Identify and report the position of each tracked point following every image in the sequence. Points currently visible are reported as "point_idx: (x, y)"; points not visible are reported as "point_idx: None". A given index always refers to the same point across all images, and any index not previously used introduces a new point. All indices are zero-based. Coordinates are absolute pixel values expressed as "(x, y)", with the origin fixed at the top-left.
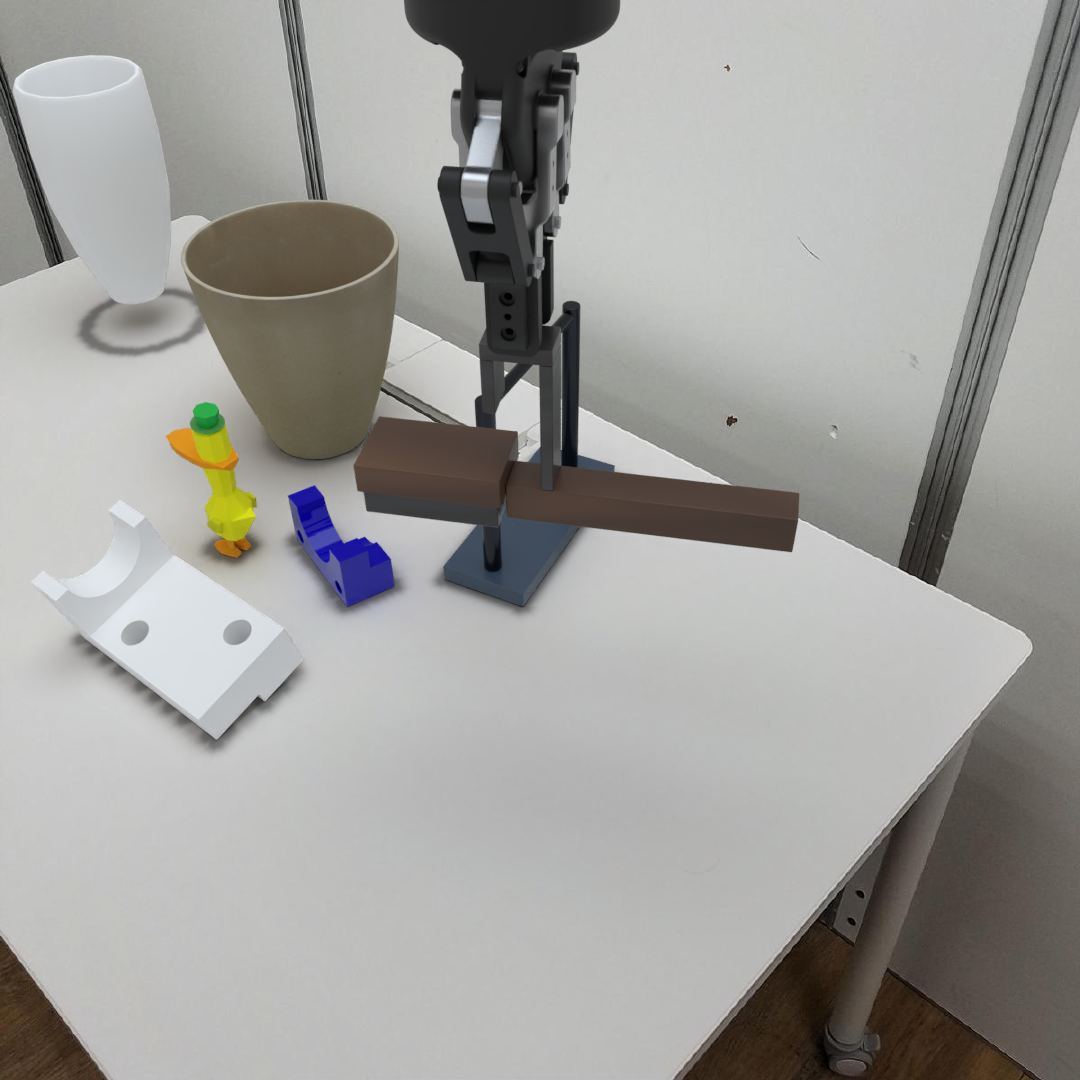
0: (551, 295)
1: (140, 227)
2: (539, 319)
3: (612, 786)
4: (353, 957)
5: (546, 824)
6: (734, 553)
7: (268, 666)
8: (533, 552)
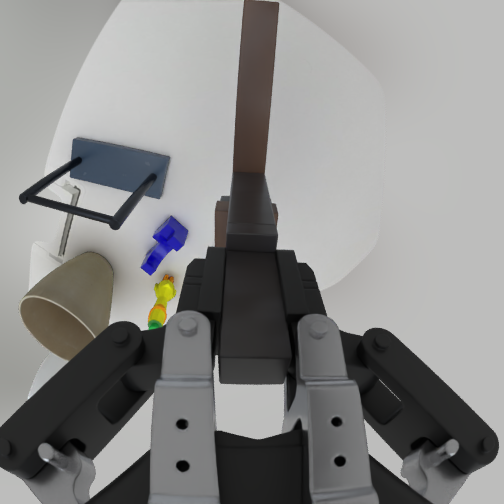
0: (220, 263)
1: (63, 362)
2: (292, 271)
3: (272, 101)
4: (350, 189)
5: (294, 127)
6: (114, 67)
7: None
8: (139, 160)
